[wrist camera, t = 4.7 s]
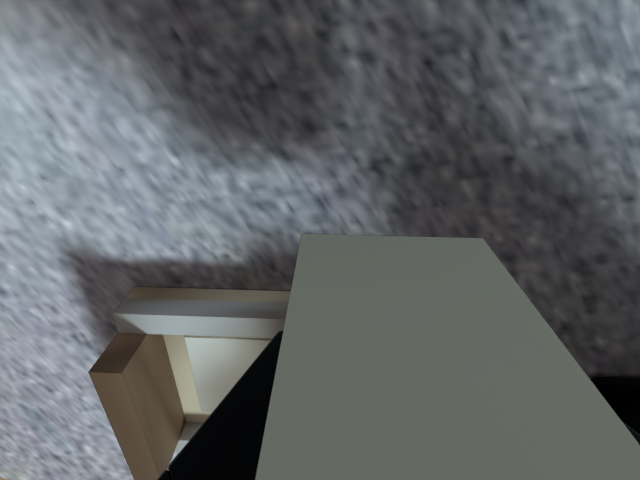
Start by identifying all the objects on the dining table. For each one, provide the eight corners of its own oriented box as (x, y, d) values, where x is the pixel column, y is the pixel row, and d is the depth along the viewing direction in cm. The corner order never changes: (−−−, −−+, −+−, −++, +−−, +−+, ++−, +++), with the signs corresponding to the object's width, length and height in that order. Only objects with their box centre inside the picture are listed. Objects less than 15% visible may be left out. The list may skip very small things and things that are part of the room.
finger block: (482, 238, 8) (777, 624, 3) (447, 380, 10) (569, 750, 5) (301, 234, 8) (234, 593, 3) (304, 374, 10) (270, 728, 5)
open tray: (458, 296, 15) (538, 458, 9) (427, 430, 19) (467, 600, 13) (134, 286, 16) (9, 434, 10) (173, 419, 20) (103, 578, 14)
